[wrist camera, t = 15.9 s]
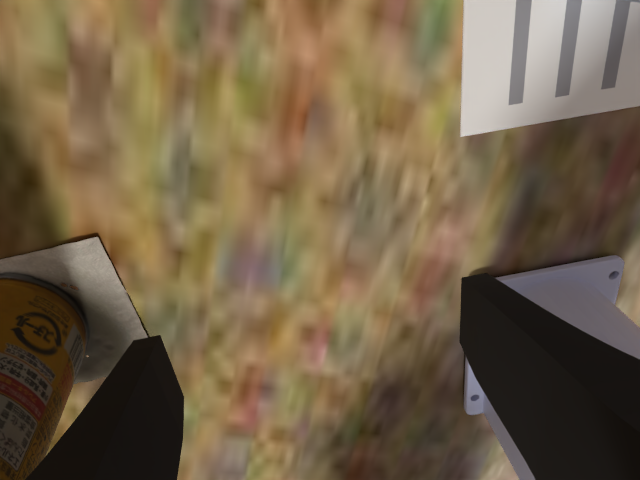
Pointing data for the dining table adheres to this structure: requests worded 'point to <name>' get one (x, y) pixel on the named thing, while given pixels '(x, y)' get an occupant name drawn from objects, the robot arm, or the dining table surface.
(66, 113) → the dining table surface
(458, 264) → the dining table surface
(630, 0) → the cube
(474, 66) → the letter
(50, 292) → the condiment
